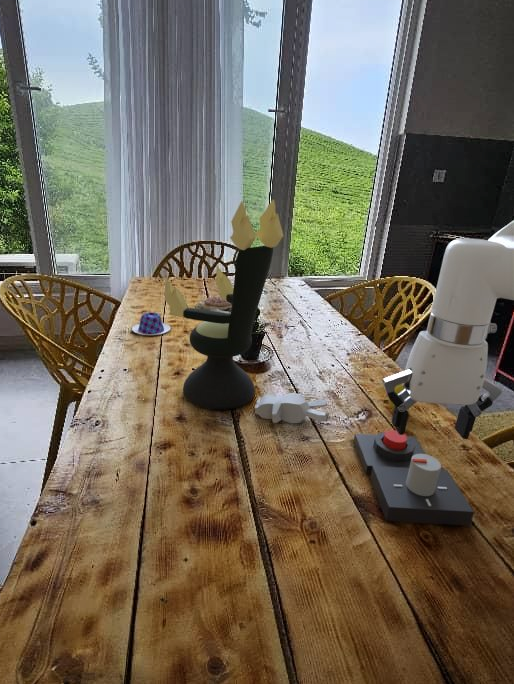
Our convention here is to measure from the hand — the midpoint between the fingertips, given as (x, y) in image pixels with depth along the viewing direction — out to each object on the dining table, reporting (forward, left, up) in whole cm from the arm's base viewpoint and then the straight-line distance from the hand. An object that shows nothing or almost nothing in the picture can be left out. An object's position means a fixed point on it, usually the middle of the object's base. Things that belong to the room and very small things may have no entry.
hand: (429, 431), depth 69 cm
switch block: (0, -11, -13) cm, 17 cm away
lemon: (-7, -29, -14) cm, 32 cm away
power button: (0, -11, -10) cm, 15 cm away
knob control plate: (0, 0, -13) cm, 13 cm away
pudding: (+58, -72, -14) cm, 94 cm away
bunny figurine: (+18, -24, -14) cm, 33 cm away
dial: (0, 0, -10) cm, 10 cm away
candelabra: (+32, -32, -14) cm, 47 cm away
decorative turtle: (+39, -96, -14) cm, 104 cm away
